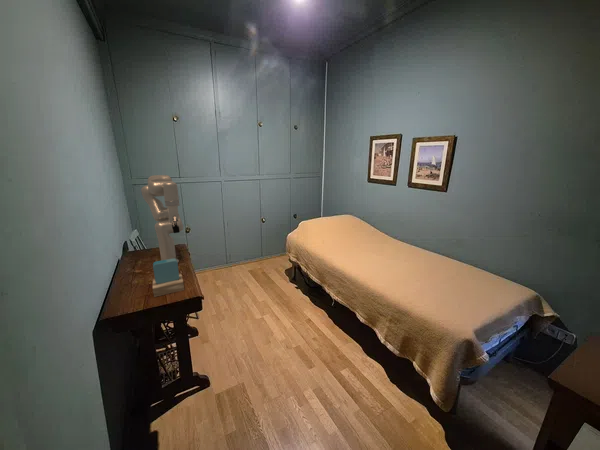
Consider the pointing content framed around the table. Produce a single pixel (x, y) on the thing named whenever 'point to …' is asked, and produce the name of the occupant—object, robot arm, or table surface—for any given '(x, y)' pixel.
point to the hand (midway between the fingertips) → (175, 230)
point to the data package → (166, 270)
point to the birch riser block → (168, 287)
